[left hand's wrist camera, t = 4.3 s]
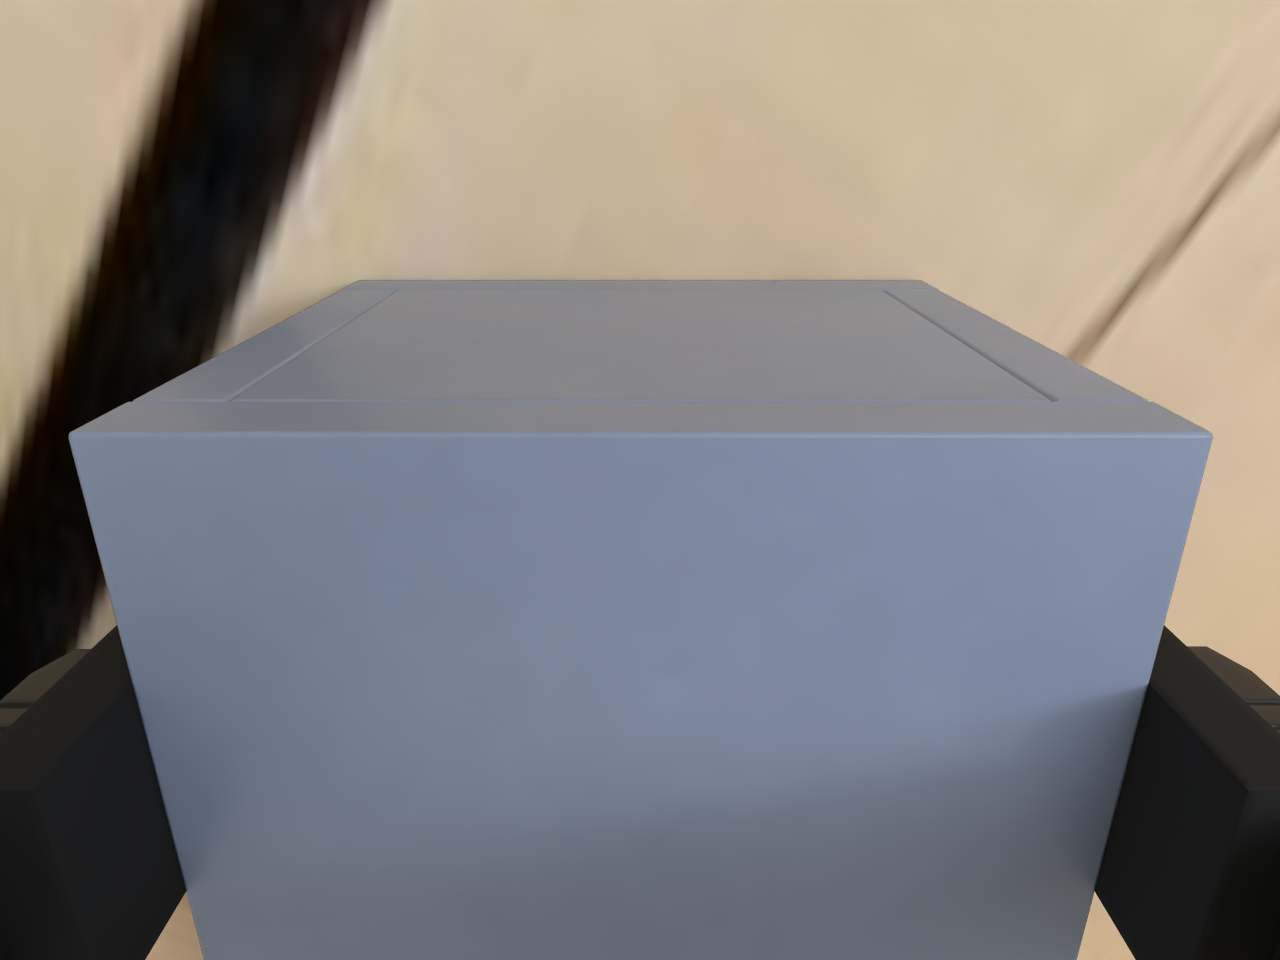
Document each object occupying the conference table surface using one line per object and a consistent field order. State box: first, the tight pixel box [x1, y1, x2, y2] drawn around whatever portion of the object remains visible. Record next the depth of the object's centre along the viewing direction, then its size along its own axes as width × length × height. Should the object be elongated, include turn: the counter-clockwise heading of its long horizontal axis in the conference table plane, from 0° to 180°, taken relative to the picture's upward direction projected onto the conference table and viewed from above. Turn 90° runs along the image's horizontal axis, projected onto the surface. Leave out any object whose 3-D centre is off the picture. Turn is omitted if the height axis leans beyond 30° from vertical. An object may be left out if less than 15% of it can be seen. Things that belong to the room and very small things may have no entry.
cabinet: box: [69, 280, 1213, 960], centre depth 15 cm, size 22×10×8 cm, turn 0°
